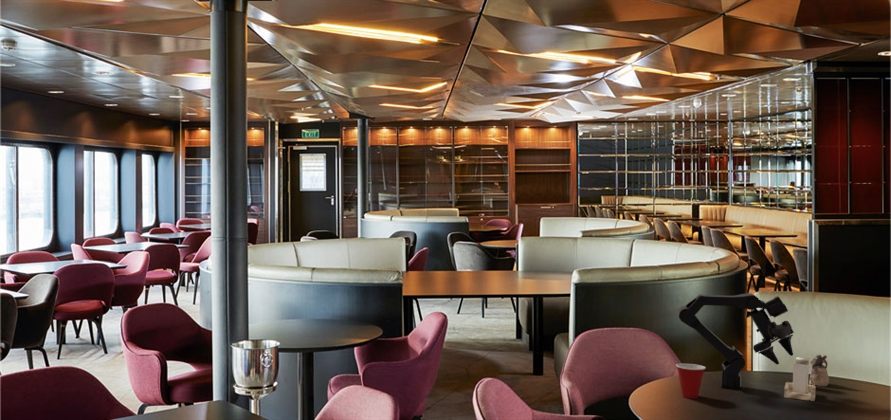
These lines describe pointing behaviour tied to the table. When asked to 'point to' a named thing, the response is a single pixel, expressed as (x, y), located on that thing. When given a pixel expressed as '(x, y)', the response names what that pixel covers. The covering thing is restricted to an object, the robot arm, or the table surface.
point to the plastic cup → (690, 379)
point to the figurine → (819, 371)
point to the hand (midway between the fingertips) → (785, 359)
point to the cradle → (790, 394)
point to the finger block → (800, 378)
